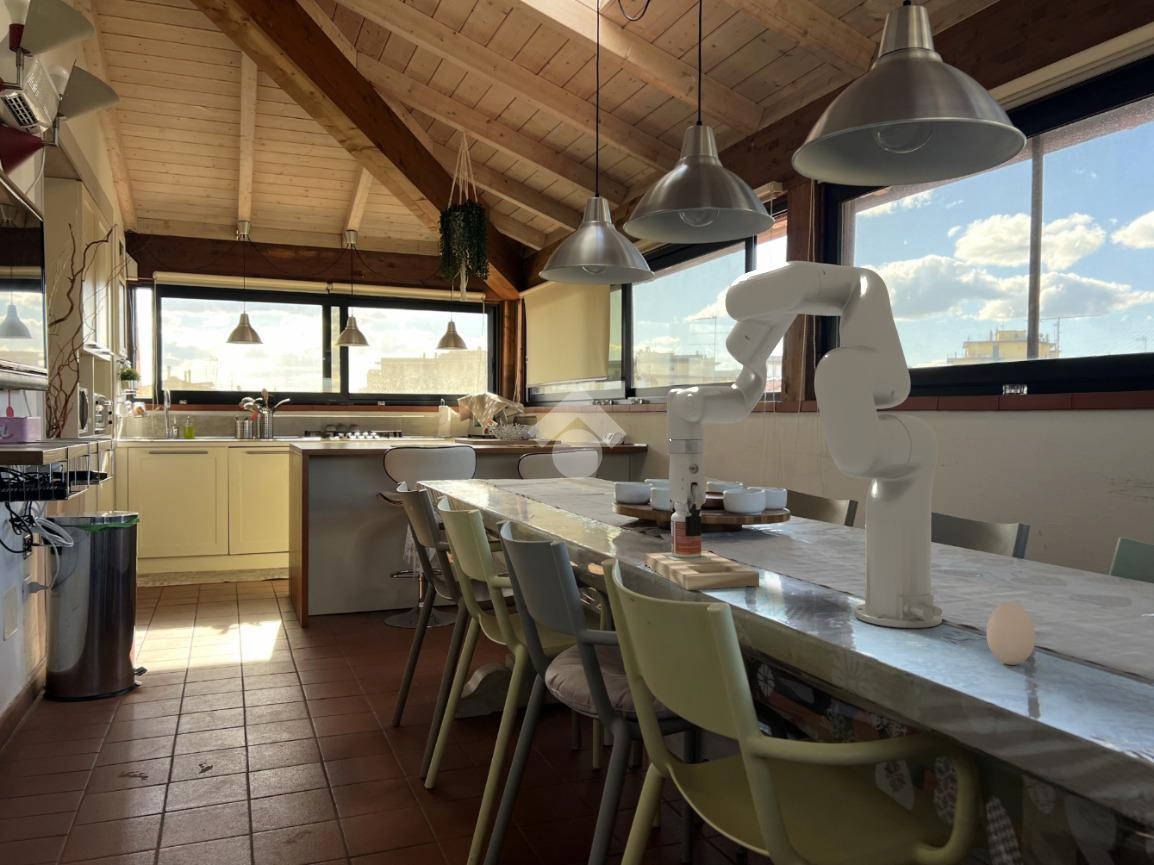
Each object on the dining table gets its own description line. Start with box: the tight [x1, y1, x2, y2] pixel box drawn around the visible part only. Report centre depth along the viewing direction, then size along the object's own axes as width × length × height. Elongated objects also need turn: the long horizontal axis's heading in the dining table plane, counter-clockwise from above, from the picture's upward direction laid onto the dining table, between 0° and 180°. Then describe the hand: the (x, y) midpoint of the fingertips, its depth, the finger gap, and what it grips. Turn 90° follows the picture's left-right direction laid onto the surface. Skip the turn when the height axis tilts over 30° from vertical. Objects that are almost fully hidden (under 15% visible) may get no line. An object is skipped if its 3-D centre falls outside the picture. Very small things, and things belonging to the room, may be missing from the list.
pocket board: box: [643, 550, 760, 591], centre depth 165 cm, size 26×14×3 cm, turn 13°
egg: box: [986, 601, 1036, 666], centre depth 106 cm, size 6×6×8 cm
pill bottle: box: [670, 502, 702, 558], centre depth 172 cm, size 6×6×11 cm
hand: (685, 532), depth 172 cm, fingers open, 8 cm apart
